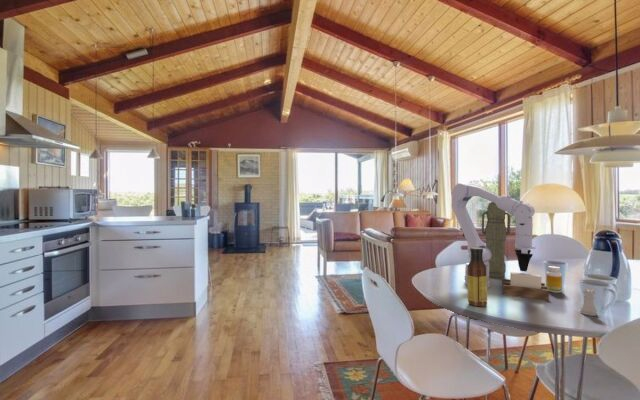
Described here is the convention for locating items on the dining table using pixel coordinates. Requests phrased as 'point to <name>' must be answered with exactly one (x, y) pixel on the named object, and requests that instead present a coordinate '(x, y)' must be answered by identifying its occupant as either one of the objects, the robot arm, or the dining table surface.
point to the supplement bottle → (554, 279)
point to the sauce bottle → (477, 279)
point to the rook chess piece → (588, 303)
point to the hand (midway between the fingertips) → (522, 269)
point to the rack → (525, 291)
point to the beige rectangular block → (525, 280)
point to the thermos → (496, 239)
